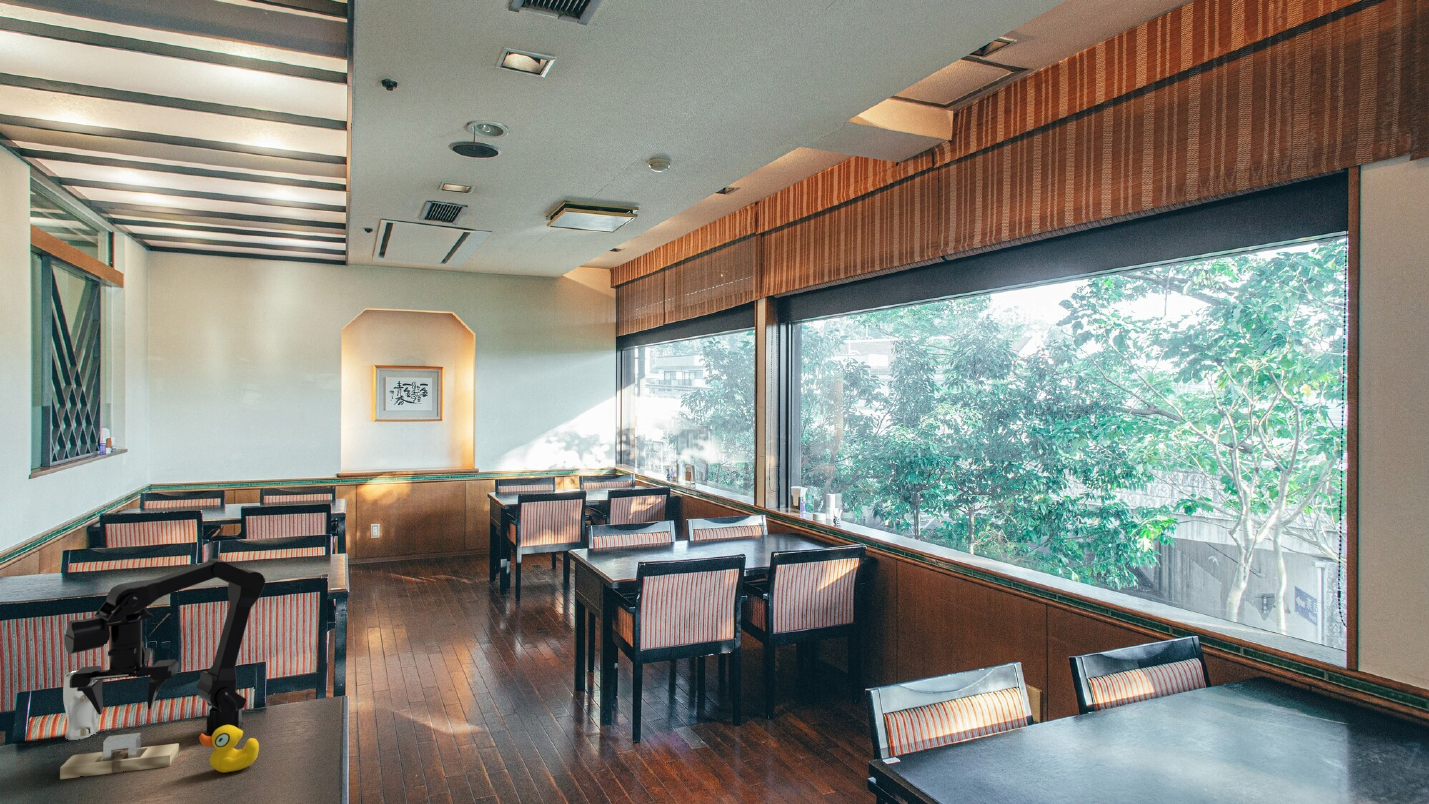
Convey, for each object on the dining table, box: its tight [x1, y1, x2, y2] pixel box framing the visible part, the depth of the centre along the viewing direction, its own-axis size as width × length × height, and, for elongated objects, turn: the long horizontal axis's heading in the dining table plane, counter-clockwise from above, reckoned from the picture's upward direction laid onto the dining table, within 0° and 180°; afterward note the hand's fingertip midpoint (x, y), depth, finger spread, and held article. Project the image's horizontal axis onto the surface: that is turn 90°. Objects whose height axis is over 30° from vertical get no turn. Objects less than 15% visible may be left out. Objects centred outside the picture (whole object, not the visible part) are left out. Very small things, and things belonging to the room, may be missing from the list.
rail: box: [59, 742, 180, 780], centre depth 171 cm, size 20×6×2 cm, turn 109°
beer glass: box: [62, 669, 99, 741], centre depth 186 cm, size 7×7×15 cm
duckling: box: [198, 725, 260, 774], centre depth 170 cm, size 11×5×10 cm, turn 111°
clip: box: [102, 732, 142, 762], centre depth 171 cm, size 6×3×6 cm, turn 110°
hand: (125, 711), depth 172 cm, fingers open, 9 cm apart
